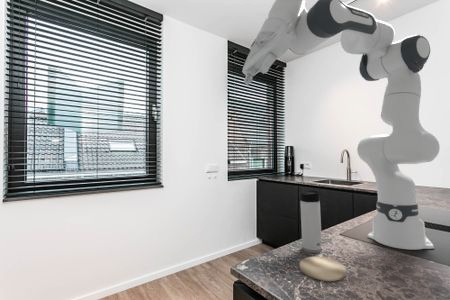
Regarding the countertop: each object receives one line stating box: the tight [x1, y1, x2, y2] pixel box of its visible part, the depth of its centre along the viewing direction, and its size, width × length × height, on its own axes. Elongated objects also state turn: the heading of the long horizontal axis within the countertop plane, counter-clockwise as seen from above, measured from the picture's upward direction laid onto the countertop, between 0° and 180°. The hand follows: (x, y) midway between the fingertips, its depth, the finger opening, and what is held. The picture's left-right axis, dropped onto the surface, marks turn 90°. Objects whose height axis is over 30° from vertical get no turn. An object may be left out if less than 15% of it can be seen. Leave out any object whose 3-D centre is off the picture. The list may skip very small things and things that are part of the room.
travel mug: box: [299, 190, 323, 254], centre depth 79 cm, size 6×7×20 cm
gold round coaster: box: [299, 256, 347, 282], centre depth 65 cm, size 12×12×1 cm
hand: (254, 77), depth 64 cm, fingers open, 8 cm apart
